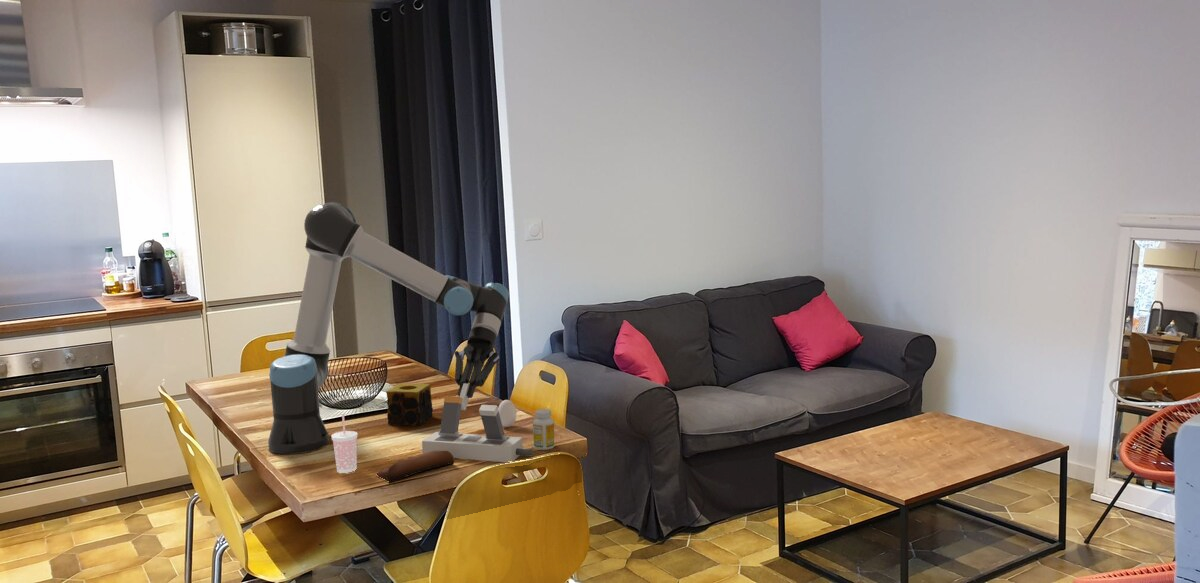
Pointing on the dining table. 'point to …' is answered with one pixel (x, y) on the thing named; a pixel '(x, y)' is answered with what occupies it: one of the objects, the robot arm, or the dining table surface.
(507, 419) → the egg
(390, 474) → the sunglasses case
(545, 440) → the supplement bottle
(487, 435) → the switch white
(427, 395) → the candle
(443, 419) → the switch orange
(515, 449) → the power strip
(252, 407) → the dining table surface
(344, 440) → the beverage cup
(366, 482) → the dining table surface
